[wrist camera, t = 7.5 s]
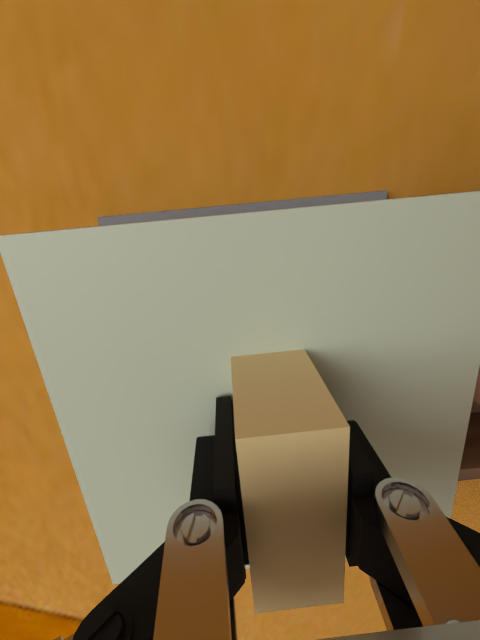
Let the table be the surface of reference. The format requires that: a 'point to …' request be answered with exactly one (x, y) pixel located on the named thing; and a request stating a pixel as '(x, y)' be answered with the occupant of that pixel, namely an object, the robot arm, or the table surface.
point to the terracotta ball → (477, 390)
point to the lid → (258, 366)
